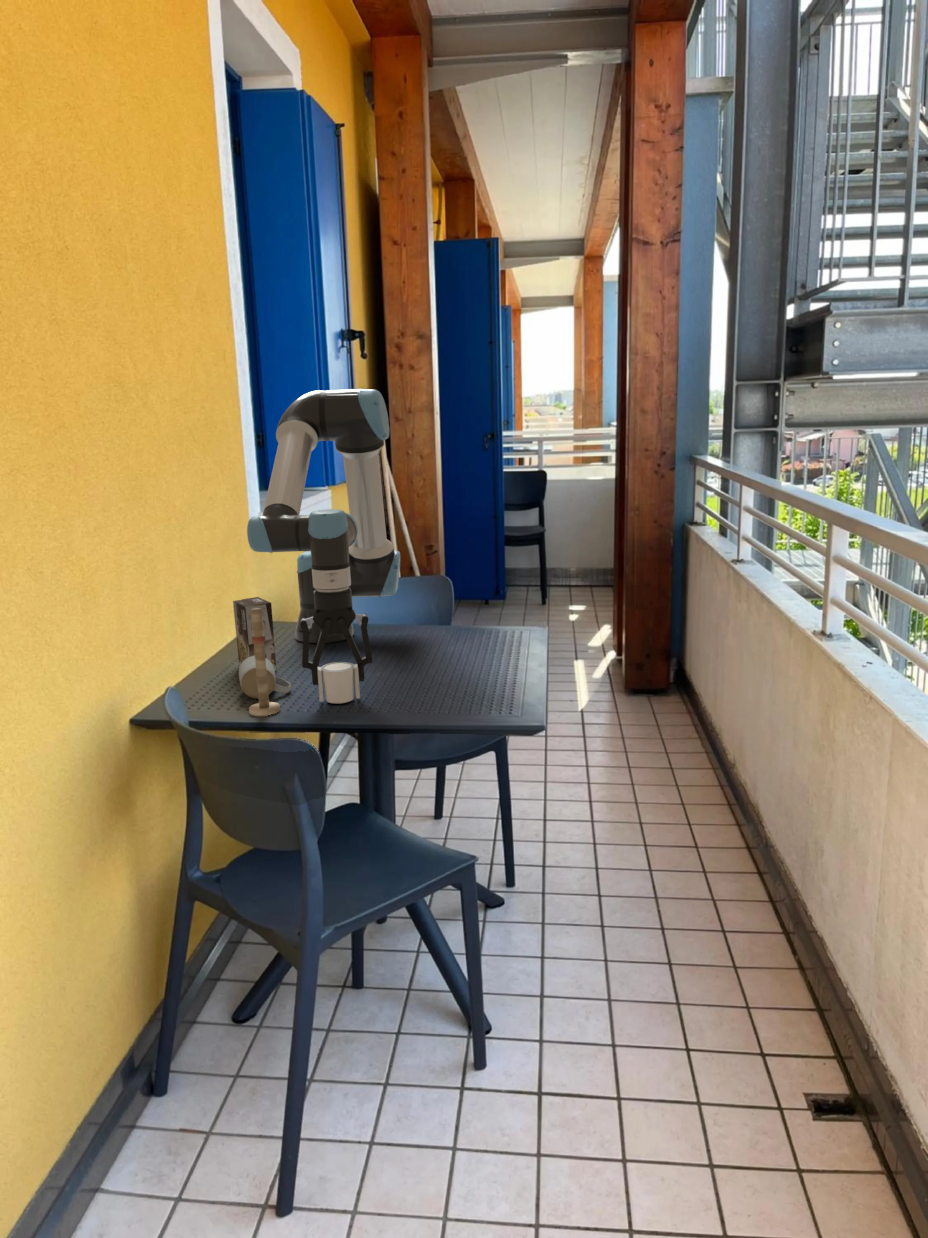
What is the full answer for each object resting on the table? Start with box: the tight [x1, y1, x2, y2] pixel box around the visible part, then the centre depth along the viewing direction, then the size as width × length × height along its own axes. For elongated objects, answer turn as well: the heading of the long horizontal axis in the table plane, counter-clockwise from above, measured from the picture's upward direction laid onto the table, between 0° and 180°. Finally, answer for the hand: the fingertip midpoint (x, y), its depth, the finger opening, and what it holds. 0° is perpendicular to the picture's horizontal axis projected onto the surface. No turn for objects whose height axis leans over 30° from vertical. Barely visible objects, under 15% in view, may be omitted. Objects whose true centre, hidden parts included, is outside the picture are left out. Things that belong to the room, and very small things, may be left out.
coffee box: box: [232, 596, 277, 672], centre depth 211 cm, size 9×6×16 cm
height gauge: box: [248, 608, 281, 717], centre depth 180 cm, size 6×6×21 cm
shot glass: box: [320, 661, 355, 704], centre depth 187 cm, size 7×7×7 cm
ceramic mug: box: [238, 656, 292, 700], centre depth 193 cm, size 11×8×8 cm
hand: (339, 697), depth 187 cm, fingers closed on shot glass, 7 cm apart
